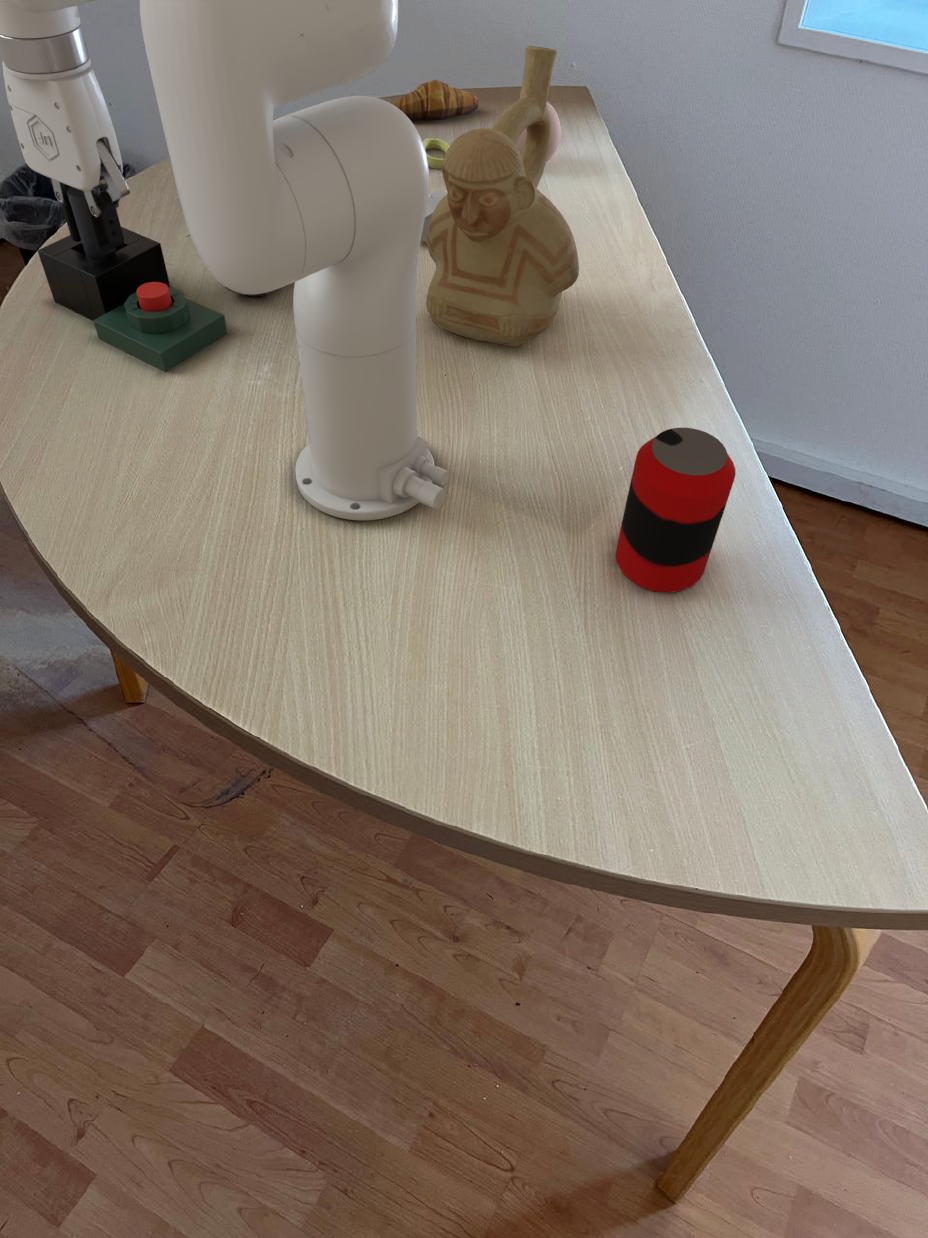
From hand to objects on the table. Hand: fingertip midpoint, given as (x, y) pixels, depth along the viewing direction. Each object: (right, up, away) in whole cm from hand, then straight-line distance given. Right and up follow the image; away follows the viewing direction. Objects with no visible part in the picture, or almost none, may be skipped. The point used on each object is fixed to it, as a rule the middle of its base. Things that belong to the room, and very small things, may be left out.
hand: (98, 240), depth 98 cm
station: (+7, -10, +1) cm, 12 cm away
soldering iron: (0, -4, +4) cm, 6 cm away
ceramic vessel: (+43, -7, +5) cm, 44 cm away
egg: (+48, +23, +31) cm, 62 cm away
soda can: (+55, -36, -19) cm, 69 cm away
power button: (+7, -8, -2) cm, 11 cm away
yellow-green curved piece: (+32, +24, +31) cm, 51 cm away
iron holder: (0, -4, +5) cm, 7 cm away
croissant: (+35, +35, +41) cm, 64 cm away
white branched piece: (+39, +8, +18) cm, 44 cm away
